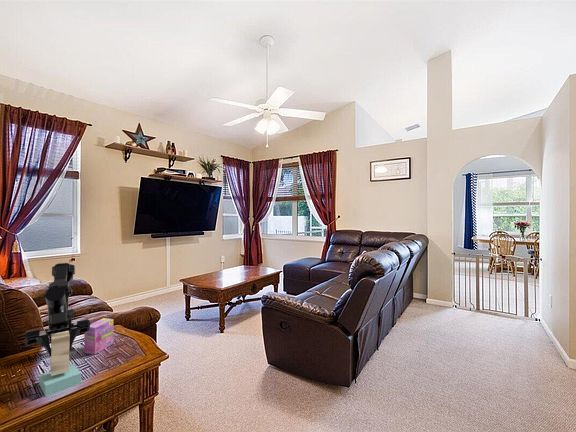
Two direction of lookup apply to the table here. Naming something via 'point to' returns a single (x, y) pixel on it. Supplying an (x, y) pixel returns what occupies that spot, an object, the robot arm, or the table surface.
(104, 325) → the box
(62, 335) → the pillar
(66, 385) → the base block
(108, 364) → the table surface
